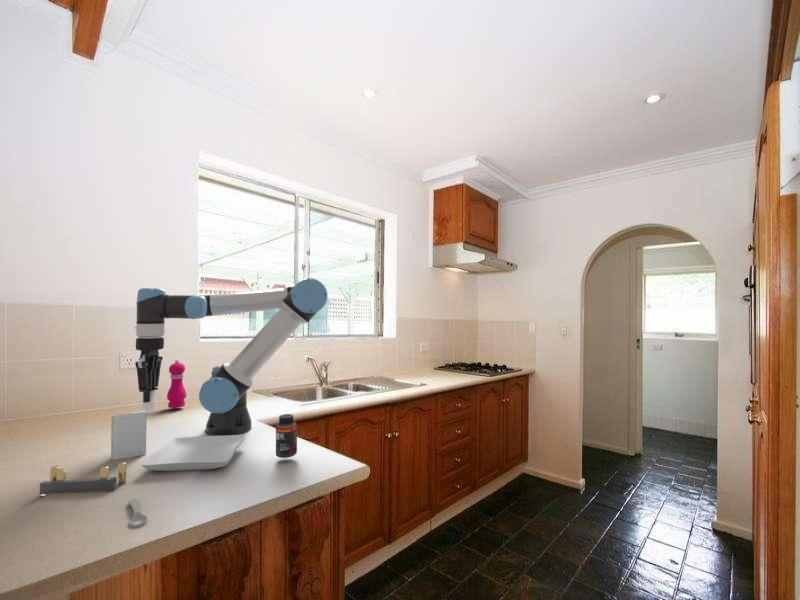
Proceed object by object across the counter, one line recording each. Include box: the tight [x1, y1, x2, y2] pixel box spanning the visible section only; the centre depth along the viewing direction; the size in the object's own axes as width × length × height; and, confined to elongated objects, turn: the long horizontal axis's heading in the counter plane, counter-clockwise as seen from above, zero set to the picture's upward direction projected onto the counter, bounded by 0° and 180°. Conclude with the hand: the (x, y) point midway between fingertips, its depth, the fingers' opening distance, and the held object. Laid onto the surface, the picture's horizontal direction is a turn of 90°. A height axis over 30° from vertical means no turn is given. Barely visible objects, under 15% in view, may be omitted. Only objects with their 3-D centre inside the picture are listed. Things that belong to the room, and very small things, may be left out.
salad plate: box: [141, 434, 247, 472], centre depth 109 cm, size 21×21×3 cm
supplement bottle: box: [275, 413, 298, 459], centre depth 112 cm, size 6×6×11 cm
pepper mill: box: [166, 358, 187, 409], centre depth 165 cm, size 7×7×20 cm
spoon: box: [127, 498, 148, 529], centre depth 79 cm, size 3×12×2 cm, turn 39°
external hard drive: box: [110, 410, 148, 461], centre depth 110 cm, size 2×8×12 cm, turn 123°
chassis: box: [39, 461, 127, 496], centre depth 90 cm, size 16×5×5 cm, turn 99°
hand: (148, 411), depth 122 cm, fingers closed
